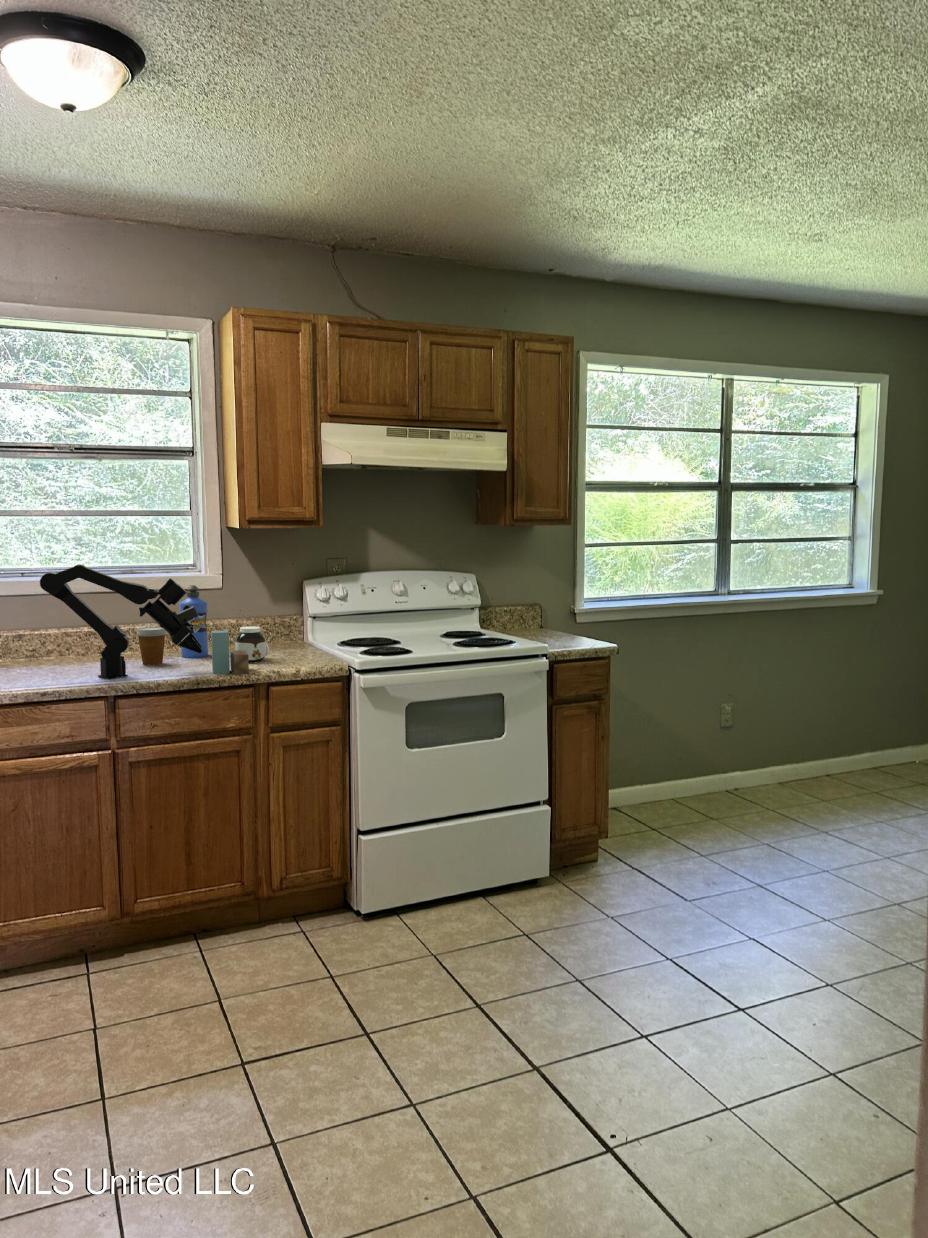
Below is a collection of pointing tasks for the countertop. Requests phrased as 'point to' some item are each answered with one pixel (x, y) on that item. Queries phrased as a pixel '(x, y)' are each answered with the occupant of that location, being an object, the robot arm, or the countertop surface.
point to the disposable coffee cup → (151, 644)
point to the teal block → (220, 652)
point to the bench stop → (239, 662)
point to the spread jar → (252, 643)
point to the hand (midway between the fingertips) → (201, 650)
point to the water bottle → (196, 623)
